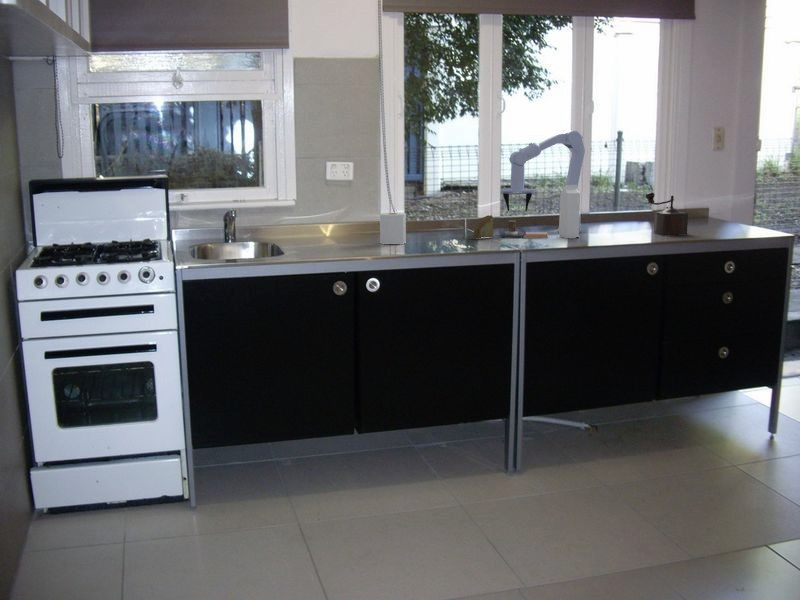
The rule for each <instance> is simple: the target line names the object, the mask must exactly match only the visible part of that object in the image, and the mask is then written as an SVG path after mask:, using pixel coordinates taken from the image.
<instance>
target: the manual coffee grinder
mask: <svg viewBox="0 0 800 600" xmlns="http://www.w3.org/2000/svg"><path fill="white" fill-rule="evenodd" d="M644 195H645V199H647V204H651V205H656V206H657V205H658V206H659V205H663V204H667V203H670V206H669V207H668V206H666V208H665V209H663V210H660V211H655V212H654V218H653V219H654V223H653V234H656V235H660V234H661V235H660V236H665V235H675V236H680V235H679V234H687V235H688V221H689V220H688V219H689V214H688V212H682V211H680V210H679V209H677V208H674V206H673V205H674V201H675V199H674V197H675V196H674V195H671V196H670V198H669V199H668V200H666V201H660V202H655V199H654V198H655V192H652V191H649V192H647V193H645V194H644Z"/></svg>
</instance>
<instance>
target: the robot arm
mask: <svg viewBox="0 0 800 600" xmlns="http://www.w3.org/2000/svg"><path fill="white" fill-rule="evenodd" d="M557 144H562V145H563V146H565V147H567V148H568V150H569V151H570V152H571V156H570V162H569V167H568V171H567V175H566V179H565V180H566V181H565V185H577V188H578V186H579V180H580V176H581V172H582V167H583V162H584V158H585V154H586V153H585V151H586V149H585V145H584V141H583V136H582V134H581V133H580V132H579V131H578V130H567V129H566V130H563V131H561V132H558V133H555V134H554V135H551V136H550V137H548V138H546V139H544V140H542V141H540V142H539V143H536V142H529V143H528V145H527V146H525V147H523V148H522V147H521V148H519V149H518V150H519V151H513V152H512V153H511V154H510V155H509V158H508V159H509V163H510V164H511V166H510V188H509V189H508V188H507V189H500V195H502V196H503V199H504V201H505V204H506V209H507V212H510V195H525V208H524V210H525V212H527V211H528V207H529V203H530V200H531V199H532V195H535V189H530V188H529V189H526V188H525V164H526V163H527V162H528V161H530V160H532V159H534V158H536V157H538V156H540V155H541V153H542V151H544V150H546V149H549V148H550V147H552V146H556V145H557ZM557 207H559V209H560V197H559V198H558V200H557ZM581 213H582V212H581V211H580V214H579V233H581V228H582V224H581V222H582V221H581V219H582V217H581ZM558 217H559V218H558V219H559V222H558V223H559V224H558V225H559V226H558V228H557V231H558V233H559V227H560V215H559V216H558Z"/></svg>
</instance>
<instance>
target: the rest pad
mask: <svg viewBox="0 0 800 600" xmlns="http://www.w3.org/2000/svg"><path fill="white" fill-rule="evenodd" d="M505 233H506V231H503V232H502V234H501V238H502V237H513V238H512V239H524V235H525V232H524V231H518V235H505ZM521 237H522V238H521Z"/></svg>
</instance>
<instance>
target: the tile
mask: <svg viewBox="0 0 800 600" xmlns="http://www.w3.org/2000/svg"><path fill="white" fill-rule="evenodd" d="M530 238H547V239H548V232H547V231H525V239H530Z"/></svg>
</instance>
